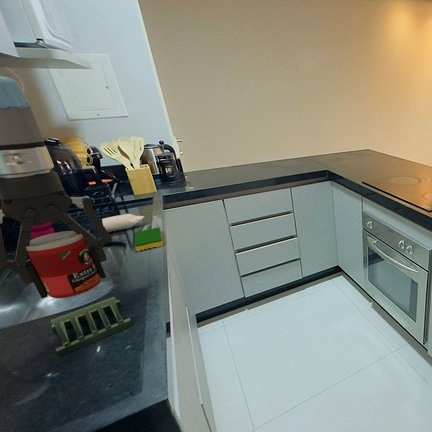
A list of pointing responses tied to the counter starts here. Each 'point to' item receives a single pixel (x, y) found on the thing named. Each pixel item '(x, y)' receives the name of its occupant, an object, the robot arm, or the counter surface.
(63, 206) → the robot arm
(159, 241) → the dish sponge
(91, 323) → the drying rack
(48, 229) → the pepper mill
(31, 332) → the counter surface
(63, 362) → the counter surface
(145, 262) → the counter surface
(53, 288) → the canned food
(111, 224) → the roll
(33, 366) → the counter surface
